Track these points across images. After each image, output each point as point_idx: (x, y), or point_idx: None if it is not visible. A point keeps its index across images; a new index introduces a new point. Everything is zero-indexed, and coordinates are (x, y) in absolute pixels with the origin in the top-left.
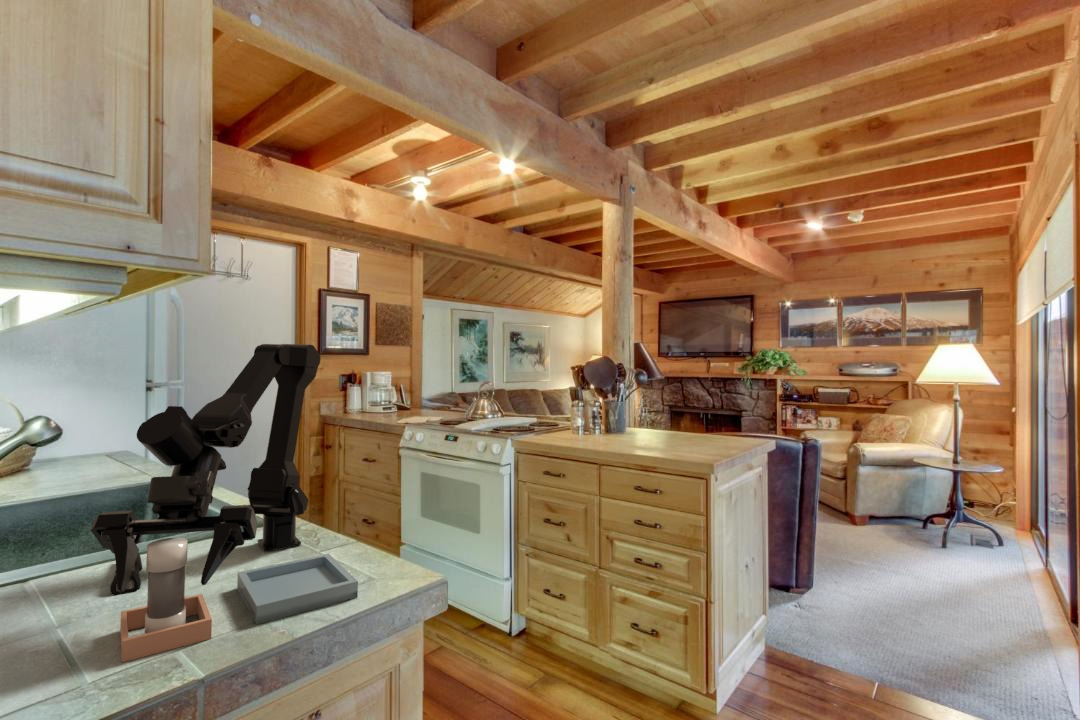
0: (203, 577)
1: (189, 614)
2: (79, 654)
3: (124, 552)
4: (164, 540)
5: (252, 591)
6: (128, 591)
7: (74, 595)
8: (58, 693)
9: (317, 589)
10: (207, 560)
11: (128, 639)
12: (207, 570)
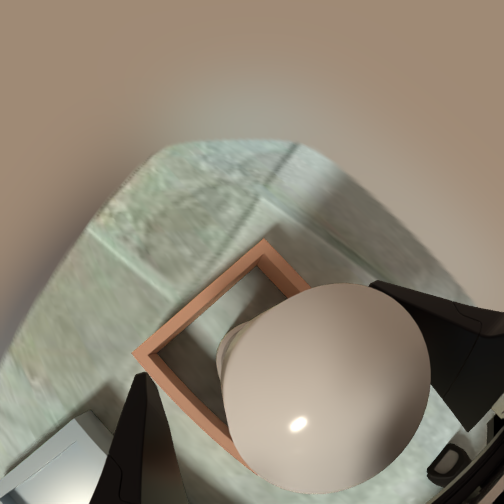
0: (138, 380)
1: None
2: (352, 269)
3: (469, 325)
4: (392, 426)
5: None
6: (435, 461)
7: (485, 417)
8: (280, 171)
9: (18, 477)
10: (137, 430)
11: (257, 246)
12: (130, 402)
